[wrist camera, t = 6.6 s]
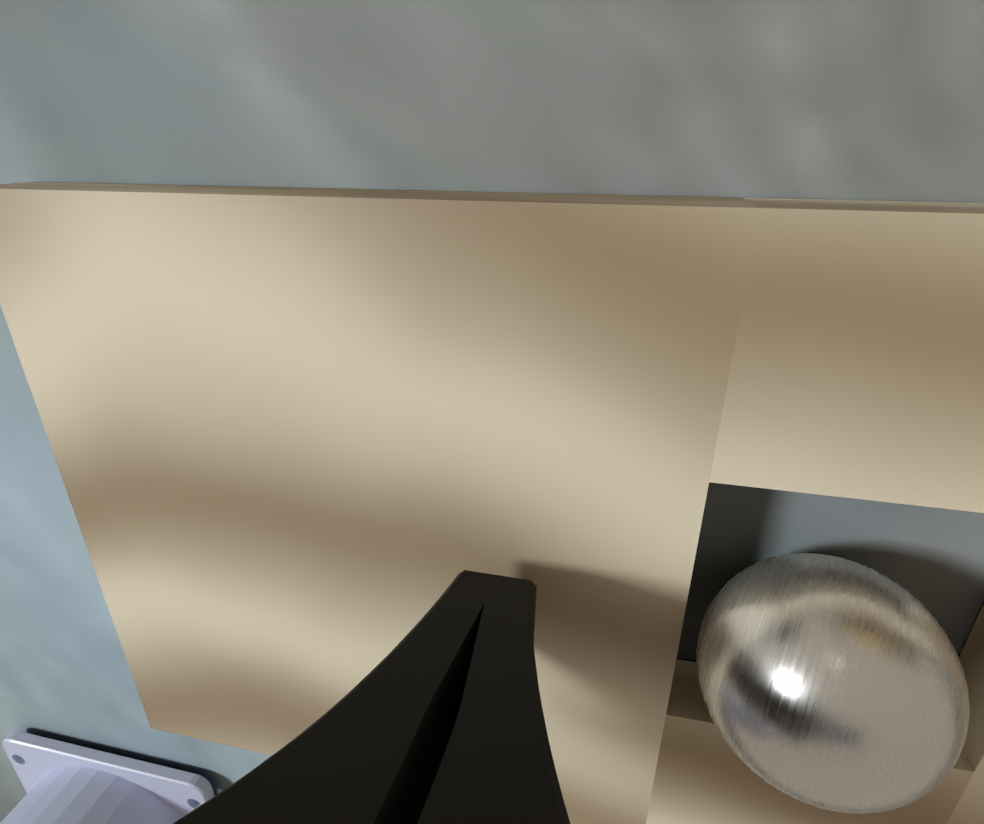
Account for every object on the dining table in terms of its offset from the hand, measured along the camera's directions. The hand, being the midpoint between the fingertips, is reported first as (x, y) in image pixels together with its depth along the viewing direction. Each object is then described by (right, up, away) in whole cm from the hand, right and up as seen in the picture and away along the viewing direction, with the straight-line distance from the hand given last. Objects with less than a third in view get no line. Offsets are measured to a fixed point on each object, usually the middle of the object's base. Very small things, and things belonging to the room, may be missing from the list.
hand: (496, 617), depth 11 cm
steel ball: (+6, -1, -1) cm, 6 cm away
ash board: (+2, +1, +2) cm, 3 cm away
